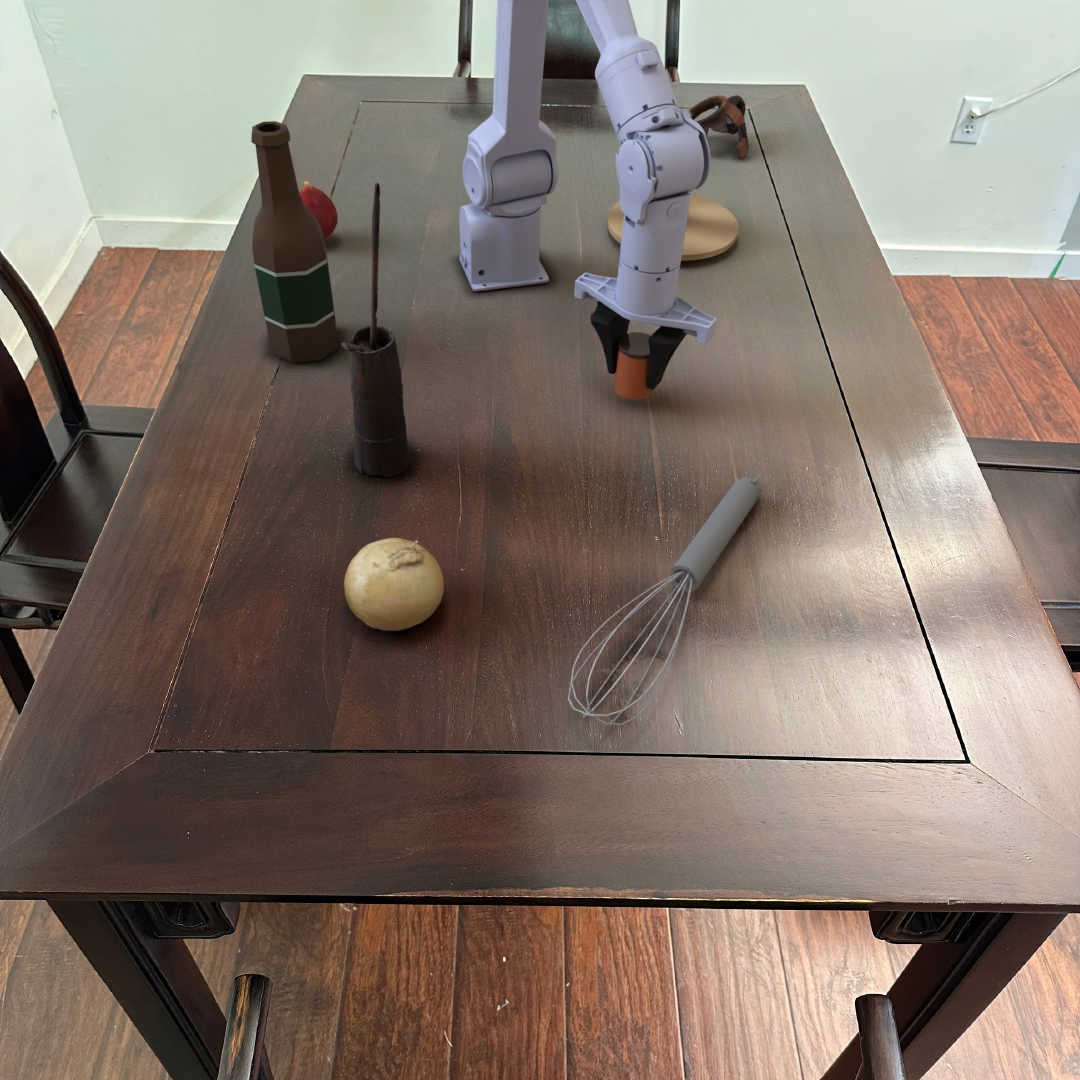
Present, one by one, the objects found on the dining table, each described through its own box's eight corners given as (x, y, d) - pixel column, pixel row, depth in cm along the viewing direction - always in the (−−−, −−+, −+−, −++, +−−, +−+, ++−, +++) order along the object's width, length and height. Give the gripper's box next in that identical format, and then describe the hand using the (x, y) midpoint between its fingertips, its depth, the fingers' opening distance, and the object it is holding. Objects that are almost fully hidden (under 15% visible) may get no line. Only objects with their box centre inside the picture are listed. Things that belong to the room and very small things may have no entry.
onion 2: (378, 660, 77) (369, 602, 72) (331, 598, 81) (320, 539, 76) (462, 616, 80) (460, 558, 75) (413, 558, 85) (408, 500, 80)
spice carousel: (745, 263, 120) (760, 190, 113) (609, 258, 120) (616, 184, 113) (729, 199, 132) (741, 129, 125) (605, 194, 132) (611, 124, 125)
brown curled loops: (739, 171, 141) (718, 120, 136) (685, 181, 148) (664, 133, 143) (771, 122, 146) (752, 72, 141) (718, 134, 153) (698, 86, 148)
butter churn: (338, 510, 89) (292, 228, 69) (315, 446, 95) (266, 170, 75) (434, 487, 91) (416, 208, 71) (405, 426, 97) (382, 154, 77)
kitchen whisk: (783, 496, 92) (798, 445, 87) (621, 761, 71) (629, 713, 67) (724, 473, 94) (735, 422, 89) (550, 724, 74) (552, 675, 69)
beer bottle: (326, 369, 104) (293, 149, 86) (258, 359, 104) (211, 138, 87) (350, 330, 109) (323, 114, 92) (285, 320, 110) (246, 105, 93)
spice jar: (621, 402, 99) (626, 358, 95) (608, 379, 102) (612, 334, 98) (658, 396, 100) (665, 352, 96) (644, 373, 102) (650, 329, 98)
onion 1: (345, 233, 124) (338, 173, 118) (334, 256, 120) (326, 194, 114) (301, 230, 124) (291, 169, 119) (288, 252, 120) (277, 191, 115)
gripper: (739, 262, 90) (715, 381, 100) (603, 218, 95) (593, 335, 105) (707, 296, 85) (685, 417, 95) (566, 248, 91) (559, 367, 100)
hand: (634, 376), depth 100 cm, fingers closed on spice jar, 4 cm apart
